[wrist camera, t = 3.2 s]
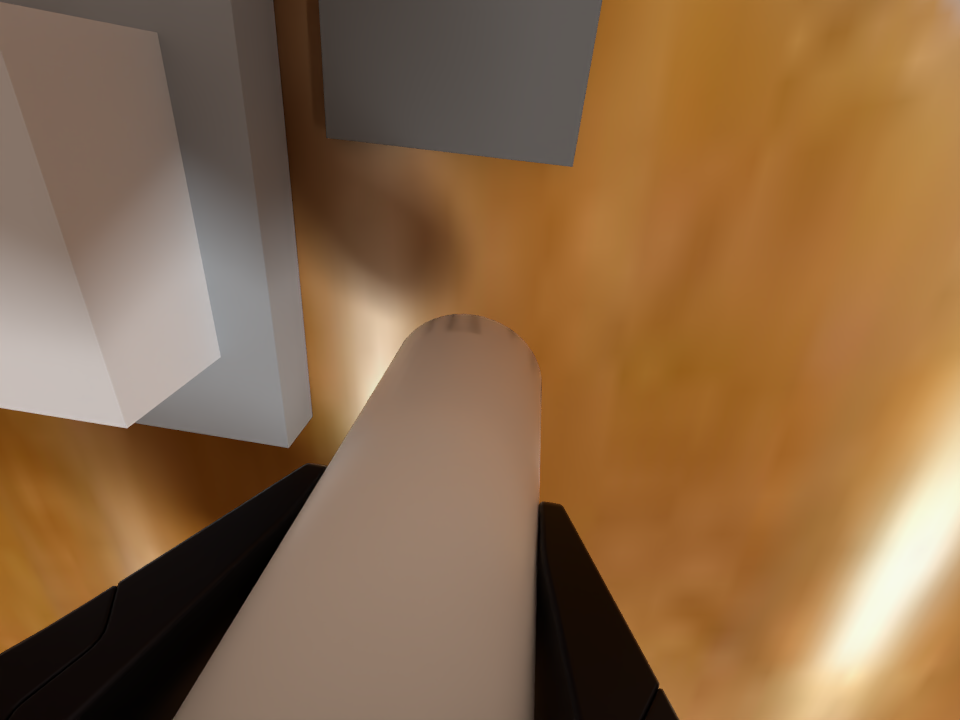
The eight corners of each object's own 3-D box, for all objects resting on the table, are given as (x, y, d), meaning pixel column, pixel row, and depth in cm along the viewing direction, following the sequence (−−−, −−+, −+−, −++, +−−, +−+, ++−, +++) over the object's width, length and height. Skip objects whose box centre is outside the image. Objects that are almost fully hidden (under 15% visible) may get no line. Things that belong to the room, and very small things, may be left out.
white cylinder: (556, 430, 13) (579, 1352, 3) (422, 451, 14) (146, 1215, 4) (521, 298, 11) (365, 1393, 2) (372, 332, 12) (-267, 1152, 3)
